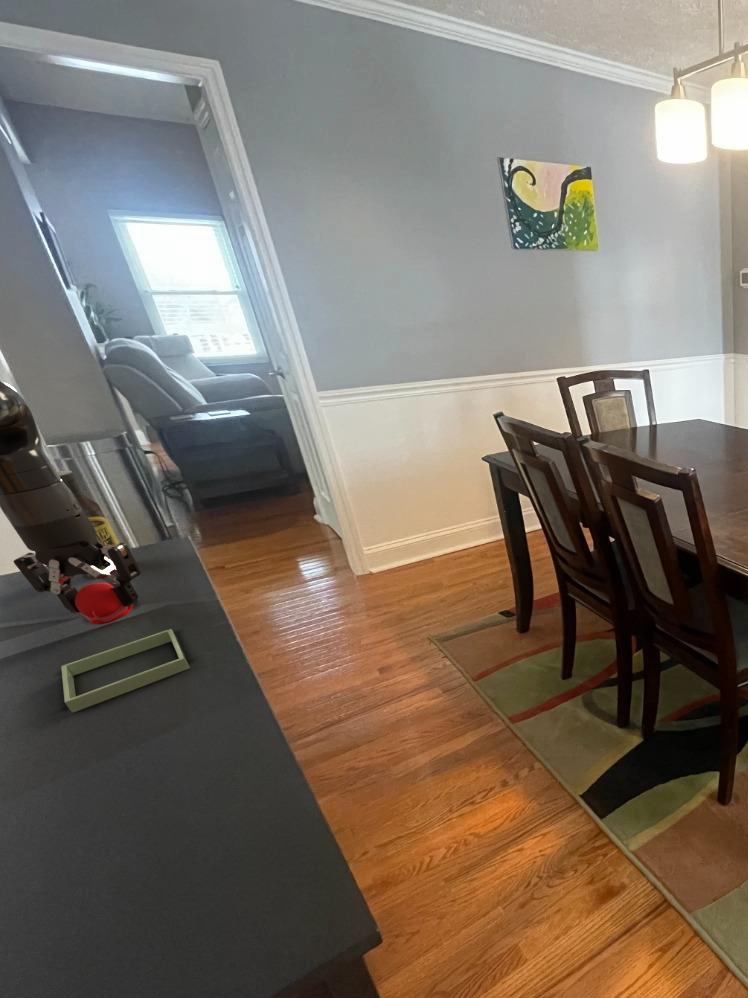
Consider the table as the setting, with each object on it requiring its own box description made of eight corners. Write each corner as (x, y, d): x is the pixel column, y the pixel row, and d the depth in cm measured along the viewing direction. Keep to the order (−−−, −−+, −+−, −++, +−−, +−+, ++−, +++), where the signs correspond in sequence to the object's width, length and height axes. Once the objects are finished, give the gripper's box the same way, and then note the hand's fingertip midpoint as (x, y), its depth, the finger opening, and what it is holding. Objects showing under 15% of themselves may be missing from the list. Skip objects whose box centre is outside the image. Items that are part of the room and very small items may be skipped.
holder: (72, 713, 77) (64, 702, 76) (68, 676, 85) (60, 666, 84) (190, 668, 85) (183, 658, 84) (177, 638, 92) (171, 628, 91)
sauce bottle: (89, 585, 110) (24, 483, 100) (87, 575, 113) (24, 476, 104) (137, 571, 114) (78, 472, 104) (133, 562, 118) (76, 466, 108)
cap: (143, 615, 99) (123, 584, 96) (94, 632, 95) (72, 600, 92) (131, 602, 103) (112, 571, 100) (83, 618, 99) (62, 587, 96)
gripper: (-34, 529, 86) (35, 625, 94) (82, 517, 88) (140, 612, 96) (12, 510, 92) (73, 602, 100) (118, 500, 95) (170, 590, 102)
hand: (105, 606), depth 98 cm, fingers closed on cap, 6 cm apart
